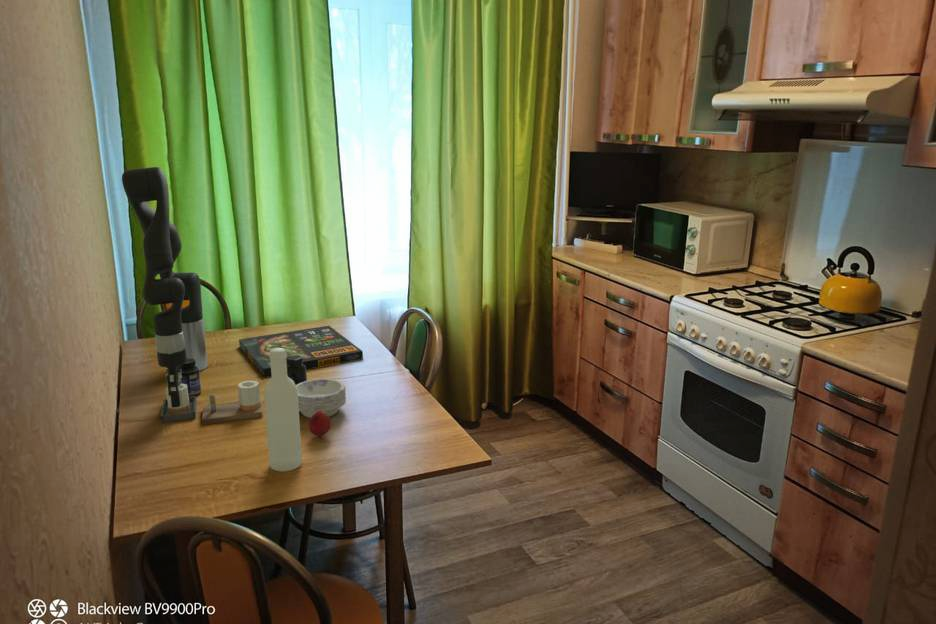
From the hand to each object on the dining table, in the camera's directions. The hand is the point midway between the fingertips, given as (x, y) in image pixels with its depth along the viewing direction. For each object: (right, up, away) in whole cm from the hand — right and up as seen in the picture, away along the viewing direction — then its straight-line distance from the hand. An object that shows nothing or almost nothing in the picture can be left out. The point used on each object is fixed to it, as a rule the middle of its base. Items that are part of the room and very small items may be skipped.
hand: (177, 401), depth 191 cm
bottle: (+39, -12, -27) cm, 49 cm away
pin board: (+16, -4, +1) cm, 16 cm away
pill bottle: (-2, 0, +14) cm, 14 cm away
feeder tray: (0, -3, +1) cm, 4 cm away
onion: (+44, -8, -13) cm, 47 cm away
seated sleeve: (+21, -2, +2) cm, 21 cm away
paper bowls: (+41, -4, +2) cm, 41 cm away
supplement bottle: (+31, 0, +15) cm, 34 cm away
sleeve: (0, -3, +1) cm, 3 cm away
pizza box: (+22, +10, +51) cm, 57 cm away
